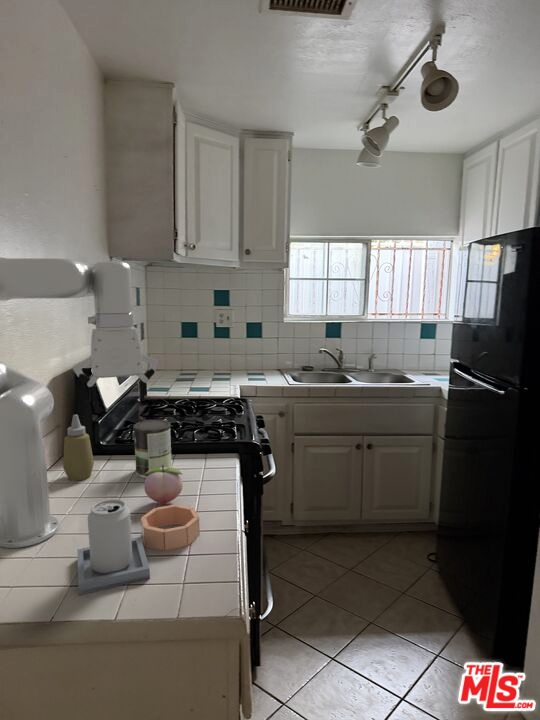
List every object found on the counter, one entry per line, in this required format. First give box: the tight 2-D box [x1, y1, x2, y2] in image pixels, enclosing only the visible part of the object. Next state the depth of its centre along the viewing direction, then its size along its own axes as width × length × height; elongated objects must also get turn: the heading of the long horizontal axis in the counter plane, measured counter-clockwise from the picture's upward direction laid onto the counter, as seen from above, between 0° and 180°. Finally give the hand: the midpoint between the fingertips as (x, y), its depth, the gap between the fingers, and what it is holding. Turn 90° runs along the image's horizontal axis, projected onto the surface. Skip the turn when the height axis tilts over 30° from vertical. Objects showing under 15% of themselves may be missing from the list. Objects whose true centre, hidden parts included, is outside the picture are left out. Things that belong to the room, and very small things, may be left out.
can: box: [87, 498, 133, 574], centre depth 89 cm, size 8×8×12 cm
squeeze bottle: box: [62, 414, 95, 482], centre depth 132 cm, size 8×8×18 cm
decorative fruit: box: [143, 465, 184, 505], centre depth 116 cm, size 9×8×10 cm
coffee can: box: [132, 419, 173, 479], centre depth 136 cm, size 10×10×14 cm
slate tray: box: [76, 536, 151, 596], centre depth 89 cm, size 12×12×2 cm
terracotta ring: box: [140, 504, 201, 552], centre depth 101 cm, size 12×12×4 cm
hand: (118, 401), depth 101 cm, fingers open, 9 cm apart
